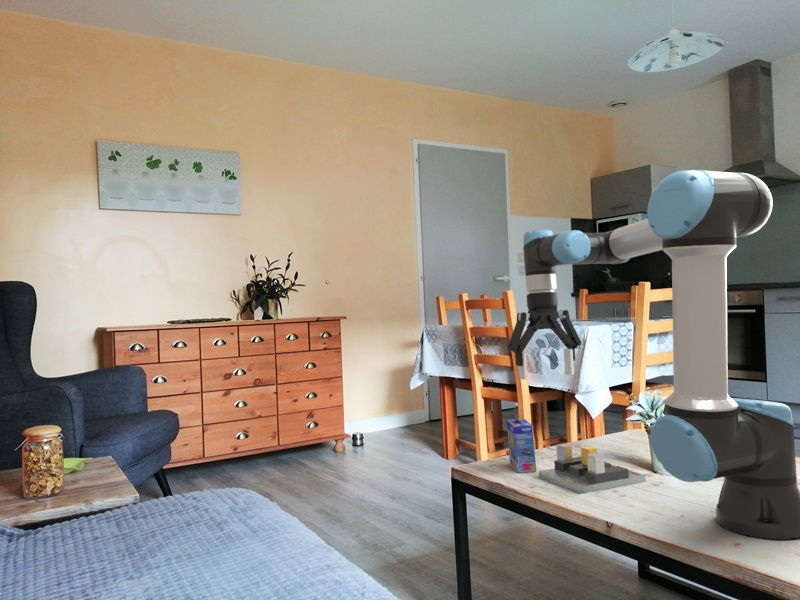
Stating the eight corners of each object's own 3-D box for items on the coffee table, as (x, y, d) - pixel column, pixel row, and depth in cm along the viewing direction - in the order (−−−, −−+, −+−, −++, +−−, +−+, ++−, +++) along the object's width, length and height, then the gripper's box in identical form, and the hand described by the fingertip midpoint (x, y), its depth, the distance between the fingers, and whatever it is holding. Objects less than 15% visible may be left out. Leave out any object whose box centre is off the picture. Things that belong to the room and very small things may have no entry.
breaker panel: (645, 481, 141) (643, 449, 141) (579, 493, 134) (577, 460, 134) (600, 466, 156) (598, 437, 156) (538, 477, 149) (537, 447, 149)
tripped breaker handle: (597, 465, 144) (596, 448, 144) (589, 466, 143) (588, 449, 143) (589, 462, 147) (588, 446, 147) (581, 463, 146) (580, 447, 146)
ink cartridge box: (508, 463, 164) (505, 411, 164) (528, 462, 164) (525, 410, 164) (515, 473, 154) (512, 417, 154) (537, 472, 154) (533, 415, 155)
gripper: (573, 291, 158) (578, 371, 157) (490, 294, 149) (495, 379, 148) (592, 289, 151) (597, 373, 150) (505, 293, 142) (511, 382, 141)
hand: (546, 376), depth 149 cm, fingers open, 13 cm apart
